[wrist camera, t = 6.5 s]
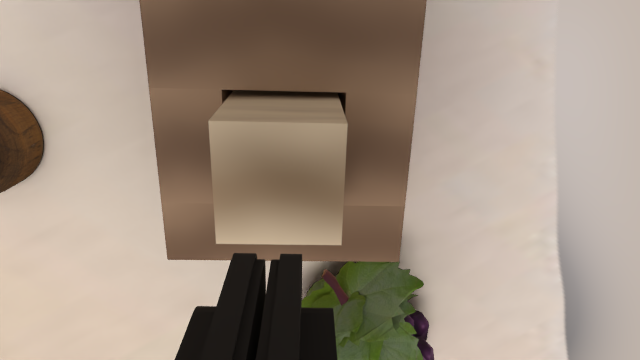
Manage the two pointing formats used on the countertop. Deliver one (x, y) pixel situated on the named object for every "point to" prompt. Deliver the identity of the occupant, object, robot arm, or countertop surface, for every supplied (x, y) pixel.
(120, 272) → the countertop surface
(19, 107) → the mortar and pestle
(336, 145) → the peg
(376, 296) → the fruit
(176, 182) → the walnut block
